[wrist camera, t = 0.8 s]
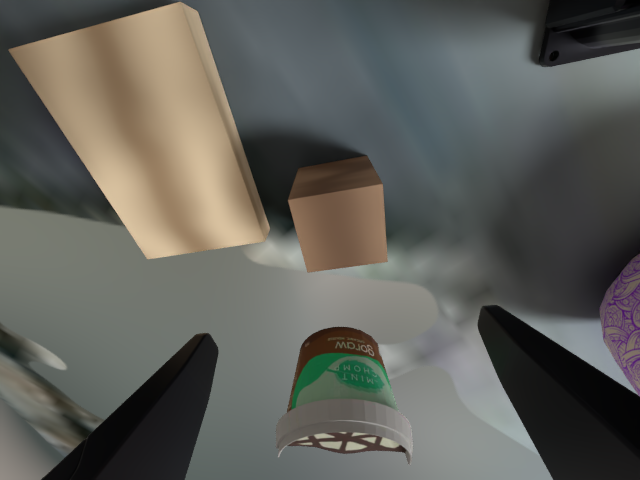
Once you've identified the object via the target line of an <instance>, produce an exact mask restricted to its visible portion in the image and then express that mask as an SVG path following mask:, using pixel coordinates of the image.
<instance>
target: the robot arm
mask: <svg viewBox="0 0 640 480" xmlns="http://www.w3.org/2000/svg"><path fill="white" fill-rule="evenodd" d="M638 48H640V0H550V4H549V9H548V14H547V18H546V29H545V34H544V39H543V44H542V48H541V53H540V58H539V63H540V65H541V66H542V67H552V66H556V65H561V64H566V63H571V62H576V61H581V60H585V59H590V58H595V57H600V56H605V55H609V54H614V53H619V52H624V51H629V50H634V49H638ZM552 52H553V53H554V56H553V58H552V59H551V60H549V56H550V54H551V53H552ZM478 330H479V333H480V335H481V337H482V340H483V342H484V345H485V347H486V349H487V352H488V354H489V357H490V359H491V361H492V364H493V366H494V369H495V371H496V373H497V376H498V378H499V380H500V382H501V384H502V386H503V388H504V390H505V392H506V394H507V395H508V397H509V399H510V401H511V403H512V405H513V406H514V408H515V410H516V412H517V414H518V416H519V417H520V419H521V421H522V423H523V425H524V427H525V428H526V430H527V432H528V434H529V436H530V438H531V440H532V441H533V443H534V445H535V447H536V449H537V451H538V452H539V454H540V456H541V458H542V460H543V462H544V463H545V465H546V467H547V469H548V471H549V472H550V474H551V476H552V478H553V480H640V396H638V395H637V394H635V393H634V392H632V391H631V390H629V389H627V388H626V387H624V386H623V385H621V384H620V383H618V382H616V381H615V380H613V379H612V378H610V377H609V376H607V375H606V374H604V373H602V372H601V371H599V370H598V369H596V368H595V367H593V366H592V365H590V364H588V363H587V362H585V361H584V360H582V359H581V358H579V357H578V356H576V355H574V354H573V353H571V352H570V351H568V350H567V349H565V348H564V347H562V346H560V345H559V344H557V343H556V342H554V341H553V340H551V339H550V338H548V337H546V336H545V335H543V334H542V333H540V332H539V331H537V330H535V329H534V328H532V327H531V326H529V325H528V324H526V323H525V322H523V321H521V320H520V319H518V318H517V317H515V316H514V315H512V314H511V313H509V312H507V311H506V310H504V309H503V308H501V307H500V306H497V305H489V306H483V307H482V308H481V310H480V315H479V320H478ZM217 357H218V347H217V345H216V343H215V342H214V340H213V338H212V337H211V335H210V334H208V333H202V334H196V335H195V336H194V337H193V338H192V339H190V340H189V341H188V342H187V343H186V344H185V345H184V346H183V347H182V348H181V349H180V350H179V351H178V352H177V353H176V354H175V355H174V356H172V358H170V360H168V361H167V362H166V363H165V364H164V365H163V366H162V367H161V368H160V369H159V370H158V371H157V372H156V373H154V374H153V376H151V377H150V378H149V379H148V380H147V381H146V382H145V383H144V384H143V385H142V386H141V387H140V388H139V389H138V390H136V392H134V393H133V394H132V395H131V396H130V397H129V398H128V399H127V400H126V401H125V402H124V403H123V404H122V405H121V406H120V407H118V408H117V409H116V410H115V411H114V412H113V413H112V414H111V415H110V416H109V417H108V418H107V419H106V420H105V421H104V422H103V423H101V424H100V425H99V426H98V427H97V428H96V429H95V430H94V431H93V432H92V433H91V434H90V435H89V436H88V437H87V439H84V440H83V441H82V442H81V443H80V444H79V445H78V446H77V447H76V448H75V449H74V450H73V451H72V452H71V453H70V454H68V455H67V456H66V457H65V458H64V459H63V460H62V461H61V462H60V463H59V464H58V465H57V466H56V467H54V468H53V469H52V470H51V471H50V472H49V473H48V474H47V475H46V476H45V477H43V478H42V479H41V480H185V477H186V473H187V470H188V467H189V463H190V460H191V457H192V453H193V450H194V447H195V444H196V441H197V437H198V434H199V431H200V427H201V424H202V421H203V417H204V414H205V411H206V408H207V404H208V400H209V396H210V392H211V387H212V382H213V377H214V372H215V367H216V363H217Z"/></svg>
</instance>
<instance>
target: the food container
mask: <svg viewBox="0 0 640 480" xmlns="http://www.w3.org/2000/svg"><path fill="white" fill-rule="evenodd" d="M286 446H309V447H317V448H321V449H325V450H328V451H332V452H337V453H343V454H347V453H358V452H364V451H376V450H377V451H396V452H404V453H405V454H406V458H407V461H408V464H409V465H410V464H411V461H412V457H411V454H412V451H413V444H412V430H411V425H410V423H409V421H408V420H407V419H406V417H405V416H403V415H402V414H401V413H399V412H398V409H397V406H396V402H395V399H394V396H393V392H392V389H391V386H390V383H389V380H388V376H387V373H386V370H385V367H384V364H383V360H382V357H381V354H380V351H379V347H378V344H377V343H376V342H375V340H374V339H373V338H372V337H371V336H370V335H368V334H366V333H364V332H363V331H361V330H357V329H354V328H349V327H332V328H327V329H323V330H320V331H318V332H316V333H314V334H312V335H311V336H309V337H308V338H307V339H306V340H305V341H304V343H303V344H302V346H301V349H300V354H299V358H298V363H297V368H296V372H295V377H294V382H293V386H292V391H291V395H290V400H289V405H288V409H287V413H286V414H285V415H283V416H282V417H281V419H280V420H279V421H278V423H277V425H276V448H279V453H278V457H279V456H280V453H281V451H282V450H283V449H284V448H285V447H286Z"/></svg>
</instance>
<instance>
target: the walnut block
mask: <svg viewBox="0 0 640 480" xmlns="http://www.w3.org/2000/svg"><path fill="white" fill-rule="evenodd" d="M288 202H289V206H290V210H291V213H292V217H293V221H294V224H295V228H296V232H297V235H298V239H299V243H300V246H301V250H302V254H303V257H304V261H305V265H306V268H307V272H315V271H323V270H330V269H337V268H345V267H352V266H360V265H367V264H374V263H382V262H388V261H387V245H386V229H385V213H384V197H383V184H382V182H381V180H380V178H379V176H378V175H377V173H376V171H375V169H374V167H373V166H372V164H371V162H370V160H369V158H368V156H362V157H356V158H351V159H345V160H340V161H335V162H329V163H324V164H318V165H313V166H308V167H302V168H298V171H297V174H296V177H295V180H294V183H293V186H292V189H291V192H290V195H289V198H288Z"/></svg>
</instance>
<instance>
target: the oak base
mask: <svg viewBox="0 0 640 480" xmlns="http://www.w3.org/2000/svg"><path fill="white" fill-rule="evenodd" d="M8 50H9V52H10V53H11V55H12V56H13V58H14V59H15V61H16V62H17V64H18V65H19V67H20V68H21V70H22V71H23V73H24V74H25V76H26V77H27V79H28V80H29V82H30V83H31V85H32V86H33V88H34V89H35V91H36V92H37V94H38V95H39V97H40V98H41V100H42V101H43V103H44V104H45V106H46V107H47V109H48V110H49V112H50V113H51V115H52V116H53V118H54V119H55V121H56V122H57V124H58V125H59V127H60V128H61V130H62V131H63V133H64V134H65V136H66V137H67V139H68V141H69V142H70V144H71V145H72V147H73V148H74V150H75V151H76V153H77V154H78V156H79V157H80V159H81V160H82V162H83V163H84V165H85V166H86V168H87V169H88V171H89V172H90V174H91V175H92V177H93V178H94V180H95V181H96V183H97V184H98V186H99V187H100V189H101V190H102V192H103V193H104V195H105V196H106V198H107V199H108V201H109V202H110V204H111V205H112V207H113V208H114V210H115V211H116V213H117V214H118V216H119V217H120V219H121V220H122V222H123V223H124V225H125V226H126V228H127V229H128V231H129V232H130V234H131V235H132V237H133V238H134V239H135V241H136V242H137V244H138V246H139V247H140V249H141V250H142V252H143V253H144V255H145V256H146V258H147V259H153V258H159V257H165V256H172V255H179V254H185V253H192V252H199V251H205V250H211V249H218V248H225V247H231V246H238V245H245V244H251V243H258V242H264V241H265V240H266V238H267V235H268V233H269V230H270V227H269V224H268V221H267V218H266V215H265V212H264V209H263V206H262V203H261V200H260V197H259V194H258V191H257V188H256V185H255V182H254V179H253V176H252V173H251V170H250V167H249V164H248V161H247V158H246V155H245V152H244V149H243V146H242V143H241V140H240V137H239V134H238V131H237V128H236V125H235V122H234V119H233V116H232V113H231V110H230V107H229V104H228V101H227V98H226V95H225V92H224V89H223V86H222V83H221V80H220V77H219V74H218V71H217V68H216V65H215V62H214V59H213V56H212V53H211V50H210V47H209V44H208V41H207V38H206V35H205V32H204V29H203V26H202V23H201V20H200V17H199V14H198V11H196V10H194V9H192V8H191V7H189V6H187V5H185V4H183V3H182V2H177V3H174V4H170V5H167V6H163V7H159V8H156V9H152V10H149V11H145V12H141V13H138V14H134V15H131V16H127V17H123V18H120V19H116V20H112V21H109V22H105V23H102V24H98V25H94V26H91V27H87V28H84V29H80V30H76V31H73V32H69V33H65V34H62V35H58V36H55V37H51V38H47V39H44V40H40V41H37V42H33V43H29V44H26V45H22V46H18V47H15V48H11V49H8Z"/></svg>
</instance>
